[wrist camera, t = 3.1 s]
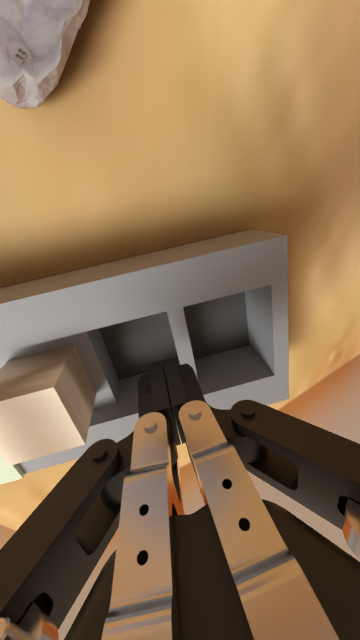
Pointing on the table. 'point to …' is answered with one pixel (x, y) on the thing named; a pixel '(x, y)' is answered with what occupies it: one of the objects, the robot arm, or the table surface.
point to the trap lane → (160, 327)
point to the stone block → (36, 46)
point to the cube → (44, 404)
